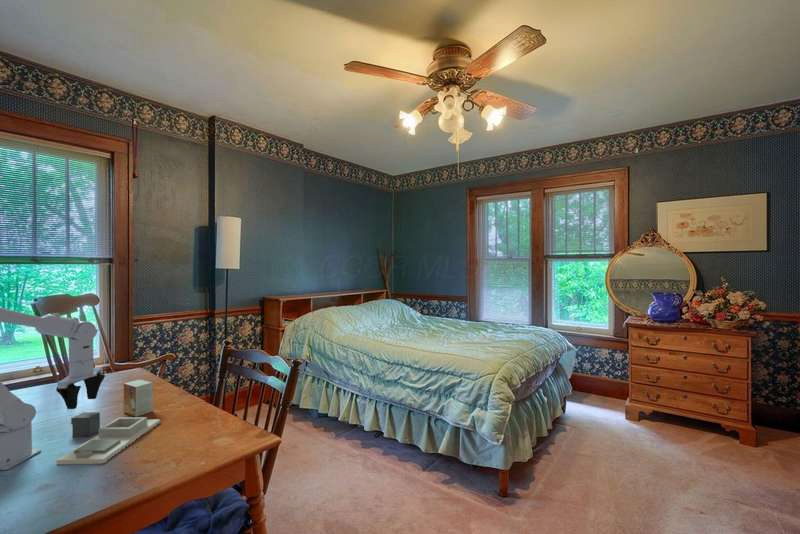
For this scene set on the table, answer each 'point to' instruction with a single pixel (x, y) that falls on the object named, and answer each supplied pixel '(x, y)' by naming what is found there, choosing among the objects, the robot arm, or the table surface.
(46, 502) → the table surface
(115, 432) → the socket base board
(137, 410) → the small box
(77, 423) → the plug
